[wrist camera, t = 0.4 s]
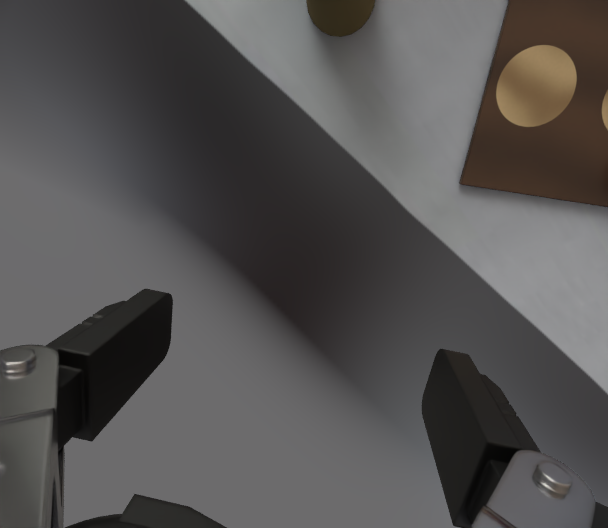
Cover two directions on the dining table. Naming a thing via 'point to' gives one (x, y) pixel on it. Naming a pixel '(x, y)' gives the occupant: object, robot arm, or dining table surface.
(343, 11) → the yellow pawn figure
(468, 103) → the dining table surface
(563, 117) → the metal board
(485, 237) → the dining table surface
